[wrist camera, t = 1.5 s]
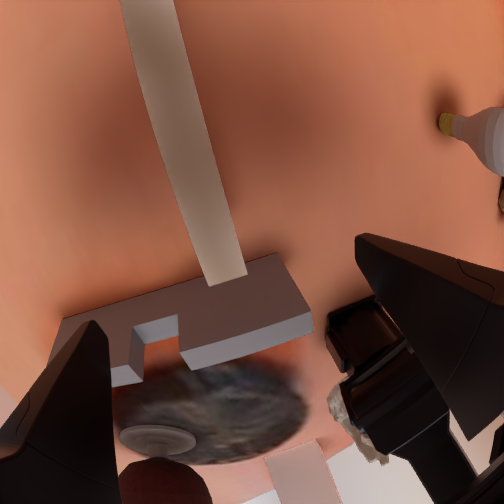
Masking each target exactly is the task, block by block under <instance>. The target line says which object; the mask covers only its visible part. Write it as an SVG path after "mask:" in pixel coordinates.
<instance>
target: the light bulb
mask: <svg viewBox="0 0 504 504" xmlns="http://www.w3.org/2000/svg"><path fill="white" fill-rule="evenodd" d="M439 127H440V130H441V131H442V132H443V133H444V134H446V135H449V136H452V137H455V138H456V139H458V140H461V141H464V142H466V143H467V144H468V145H469V146H470V147H471V149H472V150H473V151H474V152H475V154H476V155H477V157H478V158H479V159H480V161H481V162H482V163H483V164H484V165H485V167H487V168H488V169H489V170H491V171H492V172H493V173H495V174H498V175H500V176H504V108H502V107H490V108H487V109H485V110H482V111H481V112H479V113H477V114H475V115H472V116H470V117H465V116H461V115H454V114H450V113H447V112H445V113H443V114H441V116H440V119H439Z"/></svg>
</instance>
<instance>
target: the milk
mask: <svg viewBox="0 0 504 504" xmlns="http://www.w3.org/2000/svg"><path fill="white" fill-rule="evenodd" d="M264 459H265V462H266V464H267V467H268V470H269V473H270V475H271V478H272V481H273V483H274V486H275V489H276V491H277V494H278V496H279V499H280V501H281V504H342V502H341V499H340V496H339V493H338V491H337V488H336V485H335V483H334V480H333V478H332V475H331V473H330V470H329V467H328V464H327V462H326V459H325V456H324V454H323V451H322V449H321V447H320V446H319V444H318V442H317V441H316V439H314V440H311V441H309V442H306V443H304V444H301V445H298V446H296V447H293V448H290V449H287V450H284V451H281V452H278V453H275V454H272V455H269V456H266V457H264Z"/></svg>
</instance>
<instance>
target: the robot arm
mask: <svg viewBox="0 0 504 504" xmlns="http://www.w3.org/2000/svg"><path fill="white" fill-rule="evenodd" d="M355 260H356V263H357V265H358V266H359V268H360V270H361V271H362V273H363V275H364V276H365V278H366V280H367V282H368V283H369V285H370V287H371V288H372V290H373V292H374V294H375V295H374V296H371V297H369V298H367V299H364V300H362V301H360V302H357V303H355V304H352V305H350V306H347V307H345V308H342V309H340V310H337V311H335V312H332V313H330V314H329V315H328V317H327V323H328V331H327V332H326V346H327V349H328V350H329V352H330V354H331V356H332V358H333V359H334V361H335V363H336V365H337V367H338V369H339V370H340V372H341V373H345V372H347V374H348V376H349V378H348V379H347V380H345V381H342V382H341V383H340V384H339V387H340V390H341V391H340V392H341V395H342V398H343V401H344V404H345V407H346V410H347V413H348V416H349V419H350V424H351V425H352V426H353V427H357V429H358V430H359V431H360V432H361V433H363V434H365V435H368V436H369V438H370V440H371V442H372V444H373V445H374V447H375V449H376V451H378V452H380V453H381V454H383V455H385V456H387V455H389V454H392V455H395V456H398V457H400V458H403V459H405V460H408V461H409V463H410V464H411V466H412V467H413V469H414V471H415V472H416V474H417V476H418V477H419V479H420V481H421V482H422V484H423V486H424V487H425V488H426V490H427V492H428V494H429V496H430V497H431V499H432V501H433V502H434V504H504V423H503V424H502V425H501V426H500V427H499V428H498V429H497V430H496V431H495V435H494V441H493V446H492V451H491V456H490V460H489V463H490V466H489V467H488V468H487V469H486V470H484V471H483V472H482V473H481V474H480V475H478V473H477V472H476V470H475V468H474V467H473V465H472V463H471V461H470V460H469V458H468V457H467V455H466V453H465V452H464V450H463V449H462V447H461V446H460V444H459V442H458V440H457V439H456V437H455V436H454V434H453V433H452V431H451V429H450V428H449V423H450V421H449V419H450V418H449V417H450V412H449V408H450V410H451V412H452V414H453V415H454V417H455V419H456V420H457V422H458V424H459V426H460V428H461V430H462V431H463V433H464V435H465V437H466V439H467V440H468V441H470V440H471V439H472V438H474V437H475V436H476V435H477V434H479V433H480V432H481V431H482V430H483V429H484V428H486V427H487V426H488V425H489V424H490V423H491V422H492V421H494V420H495V419H496V418H497V417H498V416H499V415H500V414H501V415H502V417H503V418H504V272H503V271H499V270H496V269H492V268H488V267H484V266H480V265H477V264H474V263H470V262H467V261H464V260H461V259H456V258H454V257H451V256H448V255H444V254H441V253H438V252H434V251H431V250H428V249H424V248H421V247H417V246H414V245H410V244H407V243H403V242H399V241H396V240H392V239H389V238H385V237H381V236H377V235H374V234H370V233H363V234H360V235H357V236H356V237H355ZM382 305H383V307H384V308H385V310H386V311H387V312H388V314H389V315H390V317H391V318H392V319H393V321H394V322H395V324H396V325H397V326H396V325H395V324H394V322H393V321H392V320H391V319H390V317H389V316H388V315H387V314H386V312H385V311H384V310H383V309H382V308H381V307H382ZM398 328H399V329H400V330H399V329H398ZM0 504H123V503H122V497H121V492H120V486H119V480H118V472H117V465H116V456H115V445H114V433H113V415H112V378H111V366H110V352H109V340H108V337H107V335H106V334H105V332H104V331H103V330H102V328H101V327H100V326H99V324H98V323H97V322H96V321H95V320H93V319H91V320H88V321H84V322H83V323H82V324H81V325H80V326H79V328H78V329H77V330H76V331H75V332H74V334H73V335H72V336H71V337H70V338H69V339H68V341H67V342H66V343H65V344H64V346H63V347H62V348H61V349H60V350H59V352H58V353H57V354H56V355H55V357H54V358H53V359H52V360H51V362H50V363H49V364H48V366H47V367H46V368H45V369H44V371H43V372H42V373H41V375H40V376H39V377H38V379H37V380H36V381H35V383H34V384H33V385H32V387H31V388H30V389H29V391H28V392H27V393H26V395H25V396H24V398H23V399H22V400H21V402H20V403H19V405H18V406H17V407H16V409H15V410H14V411H13V413H12V414H11V415H10V416H9V418H8V419H7V420H6V422H5V423H4V424H3V426H2V427H1V428H0Z"/></svg>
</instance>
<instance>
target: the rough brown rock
mask: <svg viewBox="0 0 504 504" xmlns="http://www.w3.org/2000/svg"><path fill="white" fill-rule="evenodd" d="M499 204H500V208H501V210H502V212H503V214H504V189H503V191H502V193H501V196H500V198H499Z"/></svg>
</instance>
